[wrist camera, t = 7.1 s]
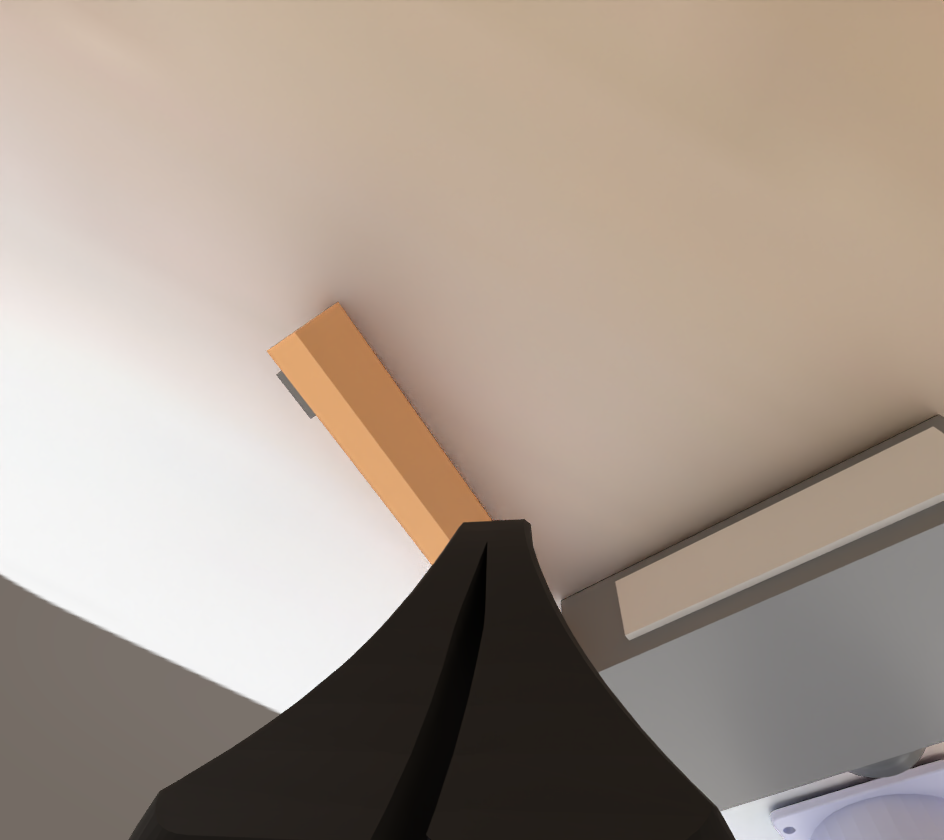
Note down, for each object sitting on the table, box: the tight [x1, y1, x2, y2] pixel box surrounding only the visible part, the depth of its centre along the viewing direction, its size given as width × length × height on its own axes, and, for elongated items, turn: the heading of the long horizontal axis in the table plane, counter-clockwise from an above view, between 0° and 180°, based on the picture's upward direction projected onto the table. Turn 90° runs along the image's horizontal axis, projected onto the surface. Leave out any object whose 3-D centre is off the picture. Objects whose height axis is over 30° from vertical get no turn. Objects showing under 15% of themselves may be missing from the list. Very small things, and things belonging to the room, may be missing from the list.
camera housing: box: [561, 415, 944, 811], centre depth 19 cm, size 10×14×4 cm
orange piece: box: [267, 302, 492, 565], centre depth 19 cm, size 2×14×4 cm, turn 33°
